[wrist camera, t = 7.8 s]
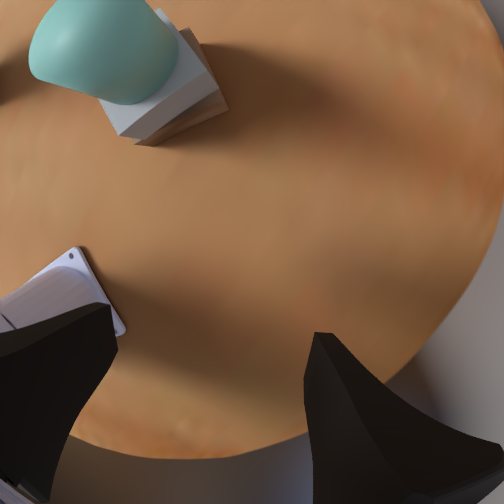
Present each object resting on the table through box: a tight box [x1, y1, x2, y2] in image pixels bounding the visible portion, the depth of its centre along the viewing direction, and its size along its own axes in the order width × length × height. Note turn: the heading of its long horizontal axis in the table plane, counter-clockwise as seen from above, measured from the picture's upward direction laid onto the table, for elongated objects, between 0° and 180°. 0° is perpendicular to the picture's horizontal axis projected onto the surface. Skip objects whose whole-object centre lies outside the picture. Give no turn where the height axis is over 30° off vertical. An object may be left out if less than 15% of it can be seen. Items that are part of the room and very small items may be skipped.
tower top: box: [98, 8, 219, 140], centre depth 12 cm, size 5×5×3 cm
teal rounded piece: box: [29, 0, 178, 105], centre depth 8 cm, size 4×4×5 cm
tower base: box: [132, 27, 229, 147], centre depth 15 cm, size 6×6×3 cm
